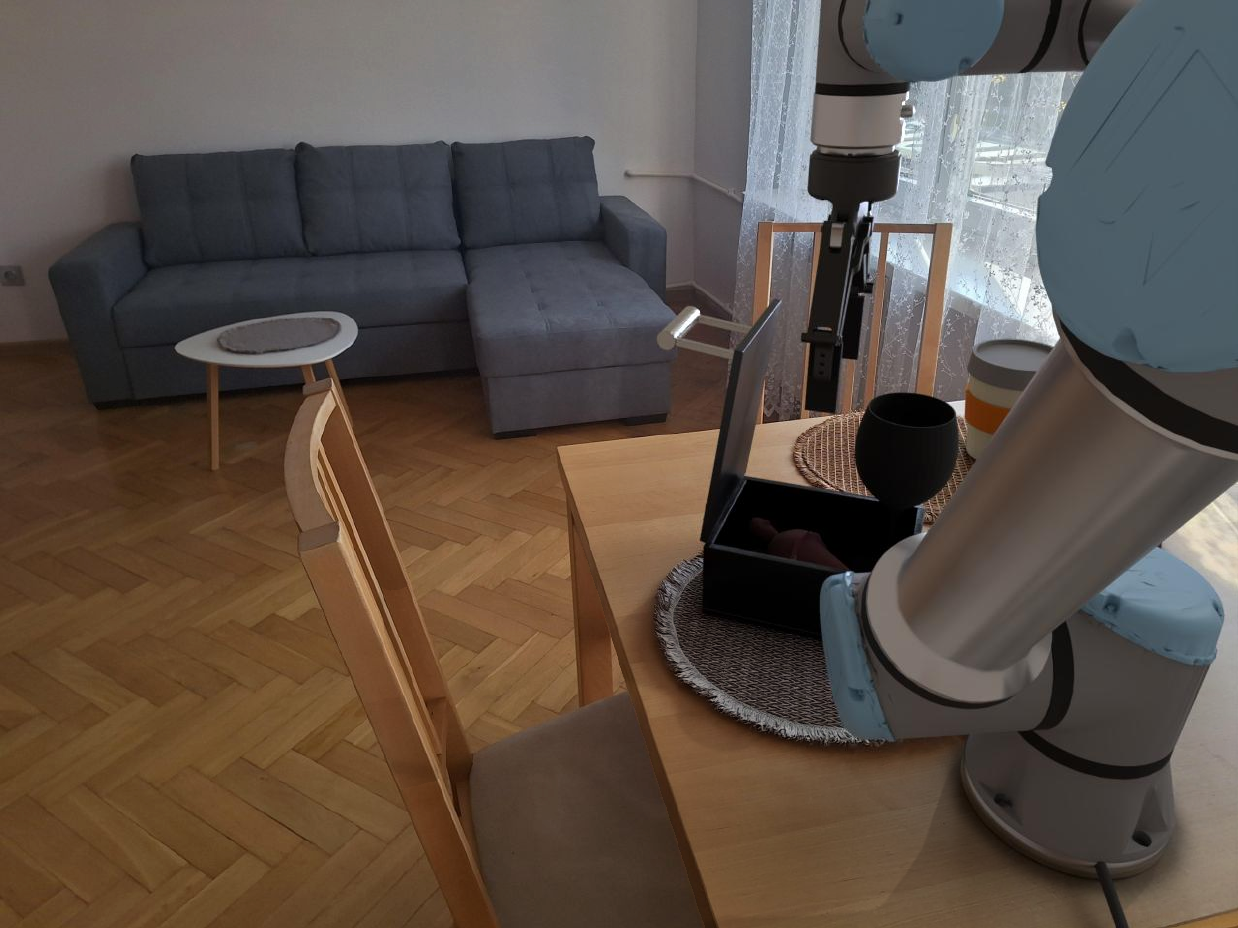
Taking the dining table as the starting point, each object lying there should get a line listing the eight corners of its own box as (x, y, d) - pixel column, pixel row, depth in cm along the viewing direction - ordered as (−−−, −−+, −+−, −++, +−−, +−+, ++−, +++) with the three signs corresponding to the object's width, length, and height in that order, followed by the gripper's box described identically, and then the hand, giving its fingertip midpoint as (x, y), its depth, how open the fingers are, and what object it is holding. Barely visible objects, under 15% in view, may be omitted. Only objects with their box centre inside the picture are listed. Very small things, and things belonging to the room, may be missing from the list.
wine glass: (835, 584, 93) (854, 424, 83) (846, 534, 101) (864, 384, 92) (933, 602, 90) (965, 437, 80) (936, 549, 98) (965, 394, 88)
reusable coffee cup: (937, 436, 124) (954, 341, 116) (1018, 429, 125) (1039, 335, 117) (978, 477, 113) (999, 375, 105) (1066, 470, 114) (1093, 368, 106)
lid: (781, 299, 86) (696, 280, 89) (743, 352, 74) (645, 328, 76) (745, 472, 97) (671, 451, 100) (707, 543, 85) (623, 517, 87)
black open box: (914, 570, 95) (926, 505, 91) (900, 658, 82) (912, 587, 78) (739, 537, 102) (742, 475, 98) (701, 613, 90) (703, 546, 85)
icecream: (886, 545, 87) (769, 505, 97) (850, 559, 82) (730, 515, 92) (875, 605, 89) (761, 560, 99) (839, 623, 84) (723, 573, 94)
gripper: (884, 174, 58) (853, 443, 68) (916, 130, 78) (888, 342, 88) (778, 171, 61) (764, 431, 71) (835, 129, 81) (817, 335, 91)
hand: (833, 382), depth 80 cm, fingers open, 13 cm apart
